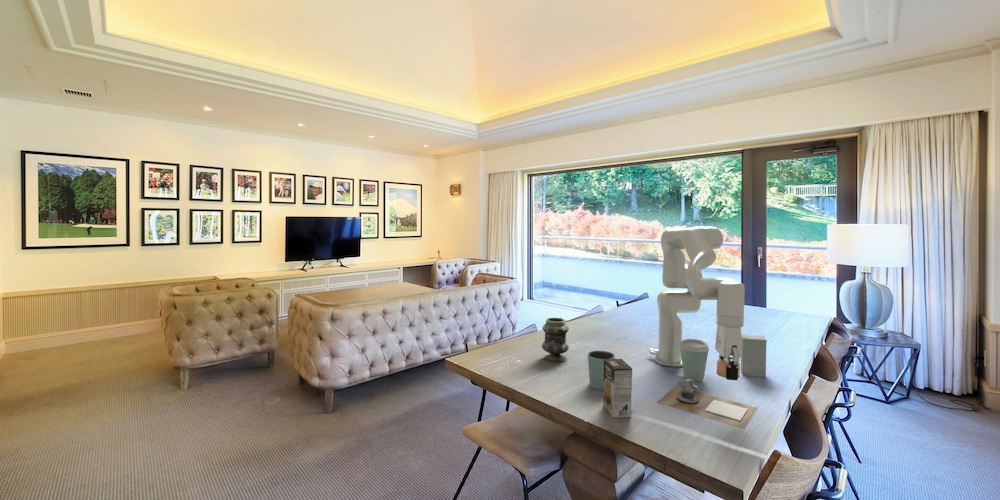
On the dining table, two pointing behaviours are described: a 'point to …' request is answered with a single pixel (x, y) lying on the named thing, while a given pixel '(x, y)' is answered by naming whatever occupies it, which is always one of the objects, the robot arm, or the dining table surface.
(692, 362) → the disposable coffee cup
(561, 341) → the apothecary jar
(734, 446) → the dining table surface
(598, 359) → the teal cup
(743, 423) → the board
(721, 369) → the cap
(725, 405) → the pad
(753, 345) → the skincare box
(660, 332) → the robot arm
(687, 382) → the round metal knob
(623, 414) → the coffee box
